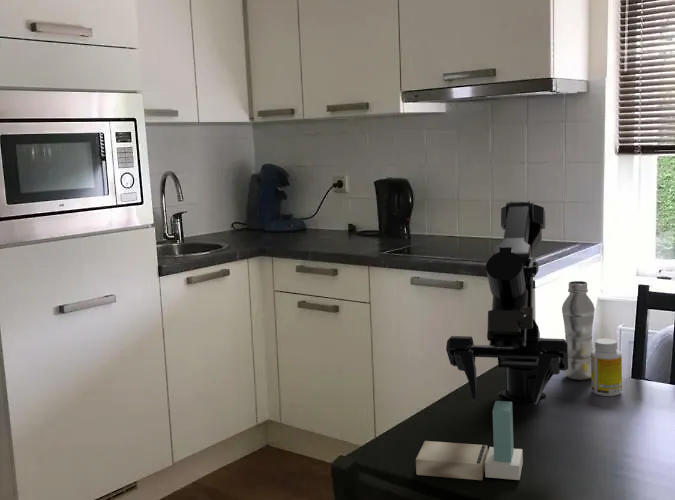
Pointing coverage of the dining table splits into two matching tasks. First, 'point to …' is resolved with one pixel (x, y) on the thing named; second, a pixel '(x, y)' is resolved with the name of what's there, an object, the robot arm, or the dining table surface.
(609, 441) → the dining table surface
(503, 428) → the teal pillar on base
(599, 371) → the supplement bottle
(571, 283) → the plastic bottle
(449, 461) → the beige flat block
